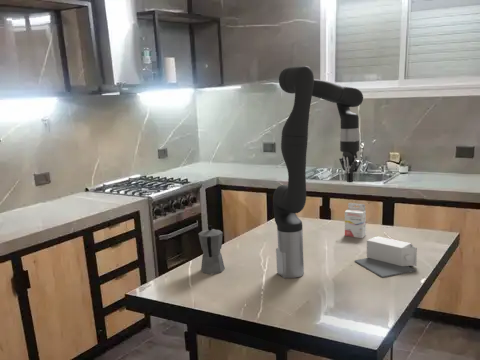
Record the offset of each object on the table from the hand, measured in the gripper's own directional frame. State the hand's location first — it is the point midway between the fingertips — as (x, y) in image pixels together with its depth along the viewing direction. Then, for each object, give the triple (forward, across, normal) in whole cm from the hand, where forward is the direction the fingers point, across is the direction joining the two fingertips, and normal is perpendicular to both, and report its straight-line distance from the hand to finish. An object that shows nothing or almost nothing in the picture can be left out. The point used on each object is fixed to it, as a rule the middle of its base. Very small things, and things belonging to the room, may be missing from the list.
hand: (350, 182), depth 191 cm
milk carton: (+25, +10, +3) cm, 27 cm away
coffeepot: (+30, -3, -59) cm, 66 cm away
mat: (+29, +21, +1) cm, 36 cm away
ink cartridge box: (+29, -16, +12) cm, 35 cm away
